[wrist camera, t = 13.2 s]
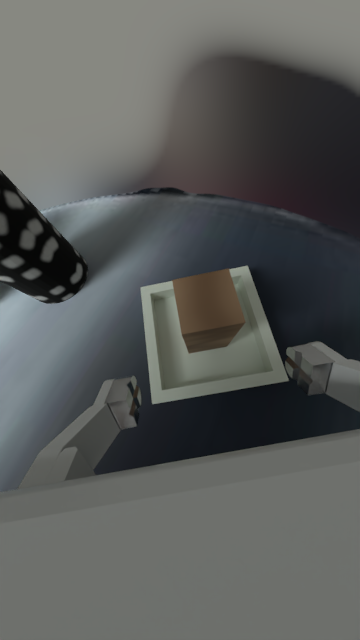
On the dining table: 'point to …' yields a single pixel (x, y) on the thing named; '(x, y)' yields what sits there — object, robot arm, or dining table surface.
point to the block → (208, 310)
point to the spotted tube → (35, 251)
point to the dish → (211, 365)
